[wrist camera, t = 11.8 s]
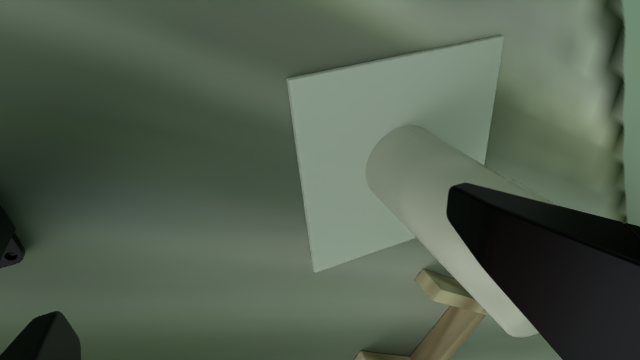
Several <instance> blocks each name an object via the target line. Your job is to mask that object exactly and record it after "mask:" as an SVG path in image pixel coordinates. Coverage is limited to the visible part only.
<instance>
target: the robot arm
mask: <svg viewBox="0 0 640 360" xmlns="http://www.w3.org/2000/svg"><path fill="white" fill-rule="evenodd" d="M446 214H447V218H448V220H449V222H450V224H451V225H452V226H453V228H454V229H455V231H456V232H457V233H458V235H459V236H460V238H461V239H462V240H463V242H464V243H465V245H466V246H467V247H468V249H469V250H470V252H471V253H472V254H473V256H474V257H475V259H476V260H477V261H478V263H479V264H480V265H481V267H482V268H483V269H484V270H485V271H486V273H487V274H488V275H489V276H490V277H491V278H492V280H493V281H494V282H495V283H496V284H497V285H498V286H499V288H500V289H501V290H502V291H503V292H504V293H505V294H506V296H507V297H508V298H509V299H510V300H511V301H512V302H513V304H514V305H515V306H516V307H517V308H518V309H519V310H520V311H521V313H522V314H523V315H524V316H525V317H526V318H527V319H528V321H529V322H530V323H531V324H532V325H533V326H534V327H535V329H536V330H537V331H538V332H539V333H540V334H541V335H542V337H543V338H544V339H545V340H546V341H547V342H548V343H549V345H550V346H551V347H552V348H553V349H554V350H555V351H556V353H557V354H558V355H559V356H560V357H561V358H562V359H563V360H640V227H639V226H636V225H632V224H628V223H625V224H623V223H622V222H620V221H616V220H612V219H608V218H604V217H600V216H596V215H592V214H588V213H585V212H581V211H577V210H573V209H569V208H565V207H561V206H557V205H553V204H549V203H545V202H541V201H537V200H533V199H530V198H526V197H522V196H518V195H514V194H510V193H506V192H502V191H498V190H494V189H490V188H486V187H482V186H478V185H475V184H471V183H466V182H464V183H460V184H457V185H453V186H451V187H450V189H449V191H448V199H447V209H446ZM15 230H16V228H15V226H14V224H13V223H12V221H11V220H10V218H9V217H8V215H7V214H6V212H5V211H4V209H3V208H2V206H1V204H0V268H3V267H7V266H10V265H14V264H17V263H19V262H21V261H22V260H23V257H24V255H25V248H24V247H23V245H22V244H21V242H20V241H19V239H18V238H17V236H16V235H15V233H14V232H15ZM8 252H13V253H15V254H16V255H14V256H12V255H9V254H8ZM0 360H81V345H80V341H79V338H78V336H77V334H76V333H75V331H74V330H73V328H72V327H71V325H70V324H69V322H68V321H67V319H66V318H65V316H64V315H63V314H62V313H61V312H59V311H54V312H51V313H48V314H45V315H42V316H38V317H36V318H34V319H33V320H32V321H31V322H30V323H29V324H28V325H27V326H26V327H25V329H24V330H23V331H22V332H21V333H20V334H19V335H18V336H17V337H16V339H15V340H14V341H13V342H12V343H11V344H10V345H9V346H8V347H7V349H6V350H5V351H4V352H3V353H2V354H1V355H0Z"/></svg>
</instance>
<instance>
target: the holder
mask: <svg viewBox="0 0 640 360" xmlns="http://www.w3.org/2000/svg"><path fill="white" fill-rule="evenodd" d="M415 281H416V282H417V283H418V284H419V286H420V287H421V288H422V289H423V290H424V292H425V293H426V294H427V295H428V297H429V298H430V299H431V300H432V301H434V302H438V303H442V304H446V305H450V307H449V309H448V310H447V311H446V312H445V314H444V315H443V316H442V317H441V319H440V320H439V321H438V322H437V324H436V325H435V326H434V327H433V329H432V330H431V331H430V332H429V333H428V335H427V336H426V337H425V338H424V340H423V341H422V342H421V343H420V345H419V346H418V347H417V348H416V350H415V351H414V352H413V353H412V355H411V356H410V357H405V356H397V355H389V354H381V353H373V352H365V351H360V353H359V354H358V355H357V357H356V358H355V359H354V360H449V359H450V358H451V357H452V355H453V354H454V353H455V352H456V351H457V349H458V348H459V347H460V346H461V345H462V343H463V342H464V341H465V340H466V339H467V338H468V336H469V335H470V334H471V333H472V332H473V330H474V329H475V328H476V327H477V326H478V325H479V323H480V322H481V321H482V320H483V319H484V317H485V316H486V315H487V314H488V312H487V311H486V310H485V309H484V308H483V307H482V306H481V305H480V304H479V303H478V302H477V301H476V300H475V299H474V298H473V297H472V296H471V295H470V293H469V292H468V291H467V290H466V289H465V288H464V287H463V286H462V285H461V284H460V283H459V282H458V281H457V280H456V279H452V278H449V277H446V276H443V275H440V274H437V273H434V272H431V271H427V270H424V269H422V271H421V272H420V273H419V275H418V276H417V277H416V279H415Z"/></svg>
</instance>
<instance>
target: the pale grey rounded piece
mask: <svg viewBox="0 0 640 360" xmlns="http://www.w3.org/2000/svg"><path fill="white" fill-rule="evenodd" d="M365 176H366V182H367V184H368V187H369V188H370V190H371V191H372V192H373V193H374V194H375V195H376V196H377V197H378V198H379V199H380V200H381V201H382V203H383V204H384V205H385V206H386V207H387V208H388V209H389V210H390V211H391V212H392V213H393V214H394V215H395V216H396V217H397V218H398V219H399V220H400V221H401V222H402V223H403V224H404V226H405V227H406V228H407V229H408V230H409V231H410V232H411V233H412V234H413V235H414V236H415V237H416V238H417V239H418V240H419V241H420V242H421V243H422V244H423V245H424V246H425V247H426V249H427V250H428V251H429V252H430V253H431V254H432V255H433V256H434V257H435V258H436V259H437V260H438V261H439V262H440V263H441V264H442V265H443V266H444V267H445V268H446V269H447V270H448V272H449V273H450V274H451V275H452V276H453V277H454V278H455V279H456V280H457V281H458V282H459V283H460V284H461V285H462V286H463V287H464V288H465V289H466V290H467V291H468V292H469V293H470V295H471V296H472V297H473V298H474V299H475V300H476V301H477V302H478V303H479V304H480V305H481V306H482V307H483V308H484V309H485V310H486V311H487V312H488V313H489V314H490V315H491V316H492V318H493V319H494V320H495V321H496V322H497V323H498V324H499V325H500V326H501V327H502V328H503V329H504V330H505V331H506V332H507V333H508V334H509V335H511V336H514V337H527V336H531V335H535V334H537V333H539V332H538V331H537V330H536V329H535V327H534V326H533V325H532V324H531V323H530V322H529V321H528V319H527V318H526V317H525V316H524V315H523V314H522V313H521V311H520V310H519V309H518V308H517V307H516V306H515V305H514V304H513V302H512V301H511V300H510V299H509V298H508V297H507V296H506V294H505V293H504V292H503V291H502V290H501V289H500V288H499V286H498V285H497V284H496V283H495V282H494V281H493V280H492V278H491V277H490V276H489V275H488V274H487V273H486V271H485V270H484V269H483V268H482V267H481V265H480V264H479V263H478V261H477V260H476V259H475V257H474V256H473V254H472V253H471V252H470V250H469V249H468V247H467V246H466V245H465V243H464V242H463V240H462V239H461V238H460V236H459V235H458V233H457V232H456V231H455V229H454V228H453V226H452V225H451V224H450V222H449V220H448V218H447V214H446V209H447V199H448V191H449V189H450V187H451V186H453V185H457V184H460V183H464V182H466V183H471V184H475V185H478V186H482V187H486V188H490V189H494V190H498V191H502V192H506V193H510V194H514V195H518V196H522V197H526V198H530V199H533V200H537V201H541V202H545V203H549V204H553V203H552V202H550V201H548V200H547V199H545V198H543V197H542V196H540V195H538V194H537V193H535V192H534V191H532V190H530V189H529V188H527V187H525V186H524V185H522V184H520V183H519V182H517V181H515V180H514V179H511V180H507V179H506V178H504V177H502V176H501V175H499V174H497V173H496V172H494V171H493V170H491V169H489V168H488V167H486V166H484V165H483V164H481V163H480V162H478V161H476V160H475V159H473V158H471V157H470V156H468V155H467V154H465V153H463V152H462V151H460V150H458V149H457V148H455V147H454V146H452V145H450V144H449V143H447V142H445V141H444V140H442V139H441V138H439V137H437V136H436V135H434V134H432V133H431V132H429V131H428V130H426V129H424V128H422V127H419V126H414V125H409V126H403V127H400V128H397V129H395V130H393V131H391V132H389V133H388V134H387V135H385V136H384V137H383V138H382V139H381V140H380V141H379V142H378V143H377V144H376V146H375V147H374V148H373V150H372V152H371V153H370V156H369V158H368V161H367V164H366V170H365ZM553 205H555V204H553Z"/></svg>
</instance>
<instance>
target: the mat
mask: <svg viewBox="0 0 640 360" xmlns="http://www.w3.org/2000/svg"><path fill="white" fill-rule="evenodd" d="M503 41H504V36H501V35H498V36H493V37H488V38H483V39H478V40H473V41H468V42H463V43H459V44H454V45H449V46H444V47H439V48H434V49H429V50H424V51H419V52H414V53H409V54H404V55H399V56H394V57H390V58H385V59H380V60H375V61H370V62H365V63H360V64H355V65H350V66H345V67H340V68H335V69H330V70H326V71H321V72H316V73H311V74H306V75H301V76H296V77H291V78H286V81H287V88H288V95H289V102H290V109H291V117H292V124H293V131H294V138H295V145H296V152H297V160H298V167H299V174H300V181H301V188H302V195H303V202H304V210H305V217H306V224H307V231H308V238H309V245H310V253H311V260H312V267H313V271H314V273H317V272H319V271H322V270H325V269H328V268H331V267H334V266H337V265H339V264H342V263H345V262H348V261H351V260H354V259H357V258H359V257H362V256H365V255H368V254H371V253H374V252H377V251H380V250H382V249H385V248H388V247H391V246H394V245H397V244H400V243H402V242H405V241H408V240H411V239H414V238H416V237H415V236H414V235H413V234H412V233H411V232H410V231H409V230H408V229H407V228H406V227H405V226H404V224H403V223H402V222H401V221H400V220H399V219H398V218H397V217H396V216H395V215H394V214H393V213H392V212H391V211H390V210H389V209H388V208H387V207H386V206H385V205H384V204H383V203H382V201H381V200H380V199H379V198H378V197H377V196H376V195H375V194H374V193H373V192H372V191H371V190H370V188H369V187H368V184H367V182H366V176H365V170H366V164H367V161H368V158H369V156H370V153H371V152H372V150H373V148H374V147H375V146H376V144H377V143H378V142H379V141H380V140H381V139H382V138H383V137H384V136H385V135H387V134H388V133H389V132H391V131H393V130H395V129H397V128H400V127H403V126H409V125H414V126H419V127H422V128H424V129H426V130H428V131H429V132H431V133H432V134H434V135H436V136H437V137H439V138H441V139H442V140H444V141H445V142H447V143H449V144H450V145H452V146H454V147H455V148H457V149H458V150H460V151H462V152H463V153H465V154H467V155H468V156H470V157H471V158H473V159H475V160H476V161H478V162H480V163H481V164H483V165H484V163H485V157H486V150H487V144H488V138H489V131H490V125H491V118H492V112H493V105H494V99H495V92H496V86H497V80H498V73H499V67H500V60H501V54H502V47H503Z"/></svg>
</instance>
